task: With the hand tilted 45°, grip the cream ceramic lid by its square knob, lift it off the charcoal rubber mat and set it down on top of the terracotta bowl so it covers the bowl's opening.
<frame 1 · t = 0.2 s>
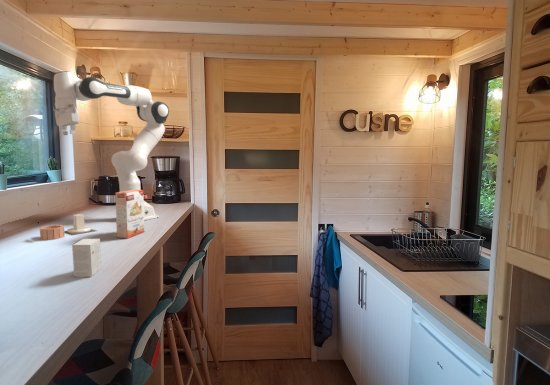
hand: (68, 134, 174), 47 cm above the worktop, tool pointing down, fingers open, 8 cm apart
lid: (79, 231, 172), resting on rubber mat
small box: (88, 273, 117), on the worktop
bowl: (52, 238, 160), on the worktop
rubber mat: (79, 232, 173), on the worktop
cracker box: (131, 235, 168), on the worktop
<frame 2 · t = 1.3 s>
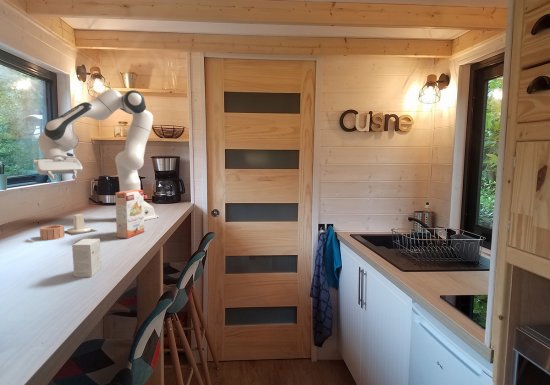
hand: (65, 178, 177), 25 cm above the worktop, tool tilted 45°, fingers open, 8 cm apart
nothing on the worktop moved.
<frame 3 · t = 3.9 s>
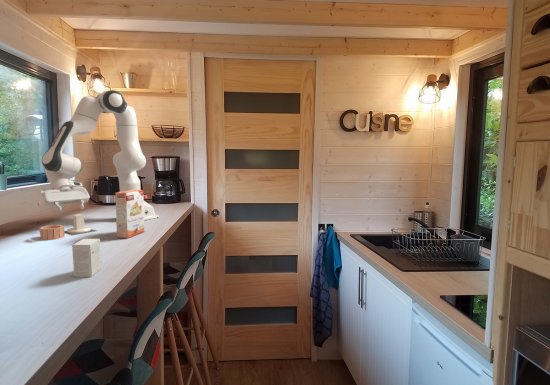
hand: (72, 209, 175), 11 cm above the worktop, tool tilted 45°, fingers open, 8 cm apart
nothing on the worktop moved.
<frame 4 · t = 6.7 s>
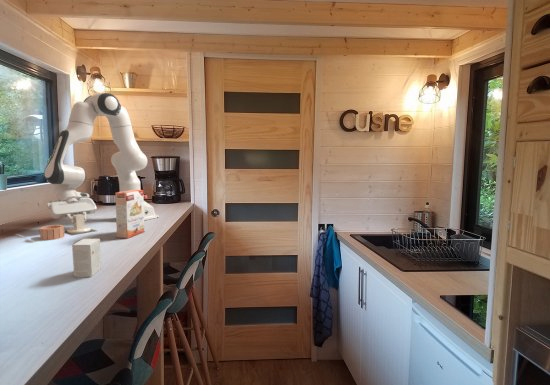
hand: (79, 221, 171), 5 cm above the worktop, tool tilted 45°, fingers closed on lid, 3 cm apart
lid: (79, 231, 172), resting on rubber mat, touching gripper
everything else where it was.
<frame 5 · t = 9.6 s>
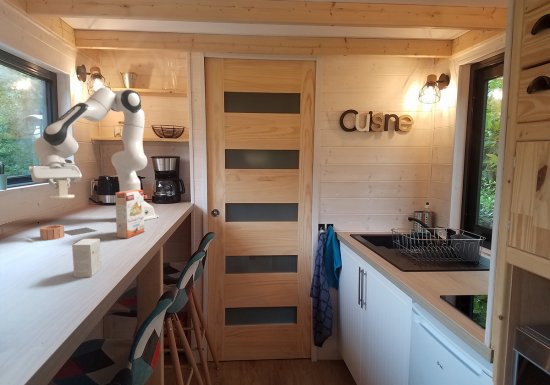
hand: (62, 187, 163), 22 cm above the worktop, tool tilted 45°, fingers closed on lid, 3 cm apart
lid: (62, 197, 164), point 18 cm above the worktop, touching gripper
everything else where it was.
when the fingers open (12 cm above the worktop, at t = 13.0 s): lid drops 1 cm, resting on bowl.
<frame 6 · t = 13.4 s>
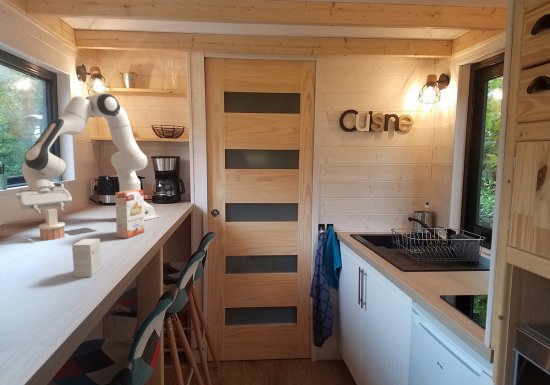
hand: (51, 213, 158), 12 cm above the worktop, tool tilted 45°, fingers open, 7 cm apart
lid: (52, 226, 160), point 5 cm above the worktop, touching bowl
everything else where it was.
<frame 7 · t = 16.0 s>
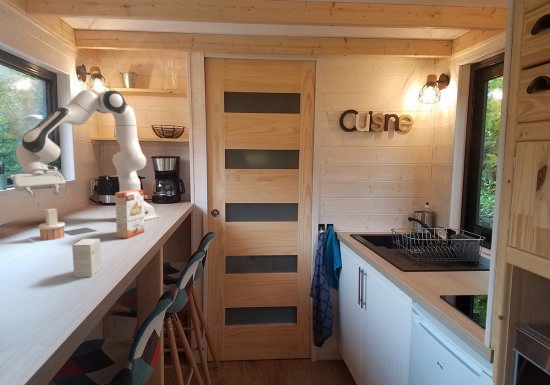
hand: (45, 194, 163), 19 cm above the worktop, tool tilted 45°, fingers open, 8 cm apart
nothing on the worktop moved.
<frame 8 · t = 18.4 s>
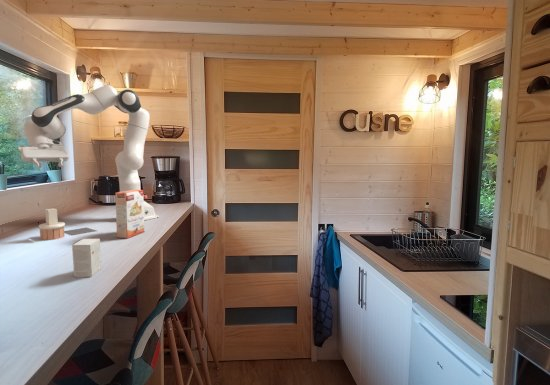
hand: (50, 166, 174), 31 cm above the worktop, tool tilted 45°, fingers open, 8 cm apart
nothing on the worktop moved.
at the end: lid 0.1 cm off-centre on the bowl, point 5.3 cm above the bowl's base; lid tilted 0°; lid touching bowl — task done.
